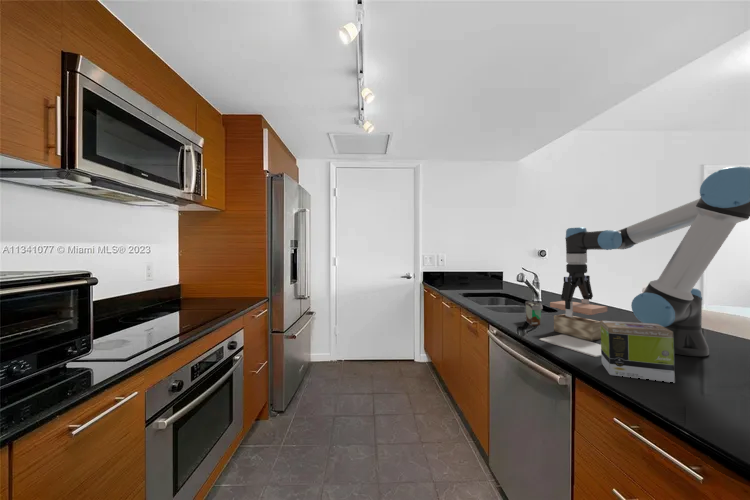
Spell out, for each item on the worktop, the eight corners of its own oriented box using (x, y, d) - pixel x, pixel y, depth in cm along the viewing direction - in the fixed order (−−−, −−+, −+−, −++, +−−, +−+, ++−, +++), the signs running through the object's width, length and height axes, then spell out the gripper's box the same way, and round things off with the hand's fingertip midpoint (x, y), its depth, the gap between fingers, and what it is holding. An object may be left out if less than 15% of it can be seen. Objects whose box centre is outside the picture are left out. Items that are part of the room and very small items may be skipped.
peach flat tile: (607, 314, 126) (607, 306, 126) (592, 316, 122) (591, 309, 122) (564, 307, 142) (564, 300, 142) (550, 309, 138) (550, 302, 138)
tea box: (660, 371, 94) (660, 323, 94) (675, 384, 85) (675, 331, 85) (600, 363, 100) (600, 318, 100) (608, 375, 91) (608, 326, 91)
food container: (546, 327, 145) (546, 306, 145) (532, 326, 147) (532, 305, 147) (538, 320, 158) (538, 301, 157) (525, 320, 159) (525, 301, 159)
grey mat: (620, 351, 112) (620, 349, 112) (596, 357, 106) (596, 355, 106) (562, 335, 132) (562, 334, 132) (539, 339, 126) (539, 338, 126)
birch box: (601, 338, 127) (601, 321, 126) (591, 341, 124) (591, 323, 124) (564, 329, 141) (564, 314, 141) (553, 331, 138) (553, 315, 138)
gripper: (584, 262, 140) (585, 311, 140) (550, 264, 131) (551, 316, 131) (602, 263, 133) (603, 314, 133) (567, 264, 124) (568, 319, 124)
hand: (577, 315), depth 132 cm, fingers closed on peach flat tile, 10 cm apart
